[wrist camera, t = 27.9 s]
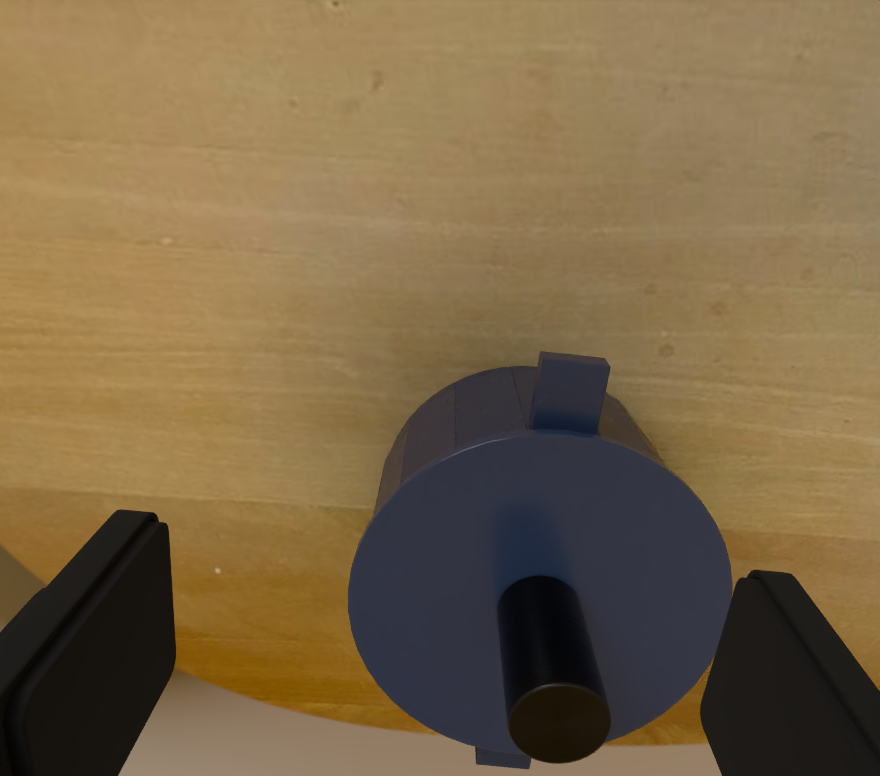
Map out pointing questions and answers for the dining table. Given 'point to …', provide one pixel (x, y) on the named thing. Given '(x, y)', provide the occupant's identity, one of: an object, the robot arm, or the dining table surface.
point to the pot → (512, 428)
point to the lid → (539, 593)
